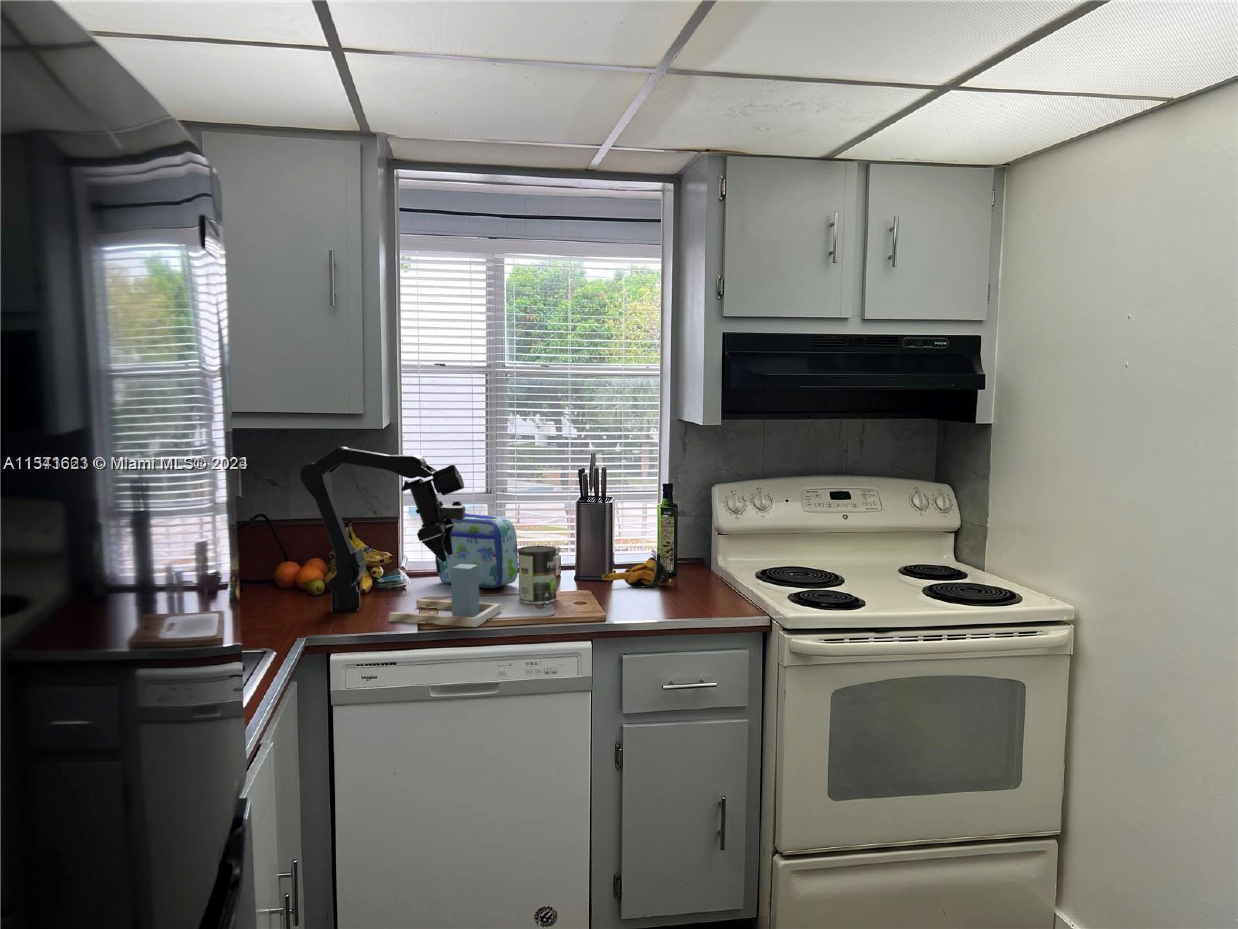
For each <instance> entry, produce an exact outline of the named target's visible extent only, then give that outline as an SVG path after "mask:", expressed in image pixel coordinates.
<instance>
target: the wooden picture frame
mask: <svg viewBox="0 0 1238 929" xmlns="http://www.w3.org/2000/svg"><path fill="white" fill-rule="evenodd" d="M501 604H502V603H492V602H491V603H489V602H479V614H478V615H477V616H475V617H461V616H452V615H439V614H430V613H427V614H426V613H411V612H394V611H391V612H390V613H388V622H394V623H395V622H397V623H408V624H409V623H410V624H411V623H412V624H420V623H419V622H425V623H434V624H433V625H441V626H455V627H470V628H471V627H473V628H477V627H479V626H480V625H482V624H484V623H486V622H487V621H488V620H490V619H491V617H492V618H493V617H495V616H496V615H498V614H499V613H501V612H502V606H501ZM415 606H416V607H415V608H417V609H421V608H420V607H421V606H426V607H434V608H437V609H436V610H446V609H448V610H449V611H452V600H441V599H440V600H439V599H424V598H423V599H422V598H421V599H420V598H418V599H416V601H415ZM489 618H490V619H489ZM487 619H488V620H487ZM486 620H487V621H486Z"/></svg>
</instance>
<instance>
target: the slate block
mask: <svg viewBox="0 0 1238 929" xmlns="http://www.w3.org/2000/svg"><path fill="white" fill-rule="evenodd" d="M451 581H452V584H451V601H452V610H451V616H461V617H475V616H477V615H478V614H480V612H479V603H480V587H479V576H478V565H470V564H459V565H457V566H454V567H452V568H451Z"/></svg>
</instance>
